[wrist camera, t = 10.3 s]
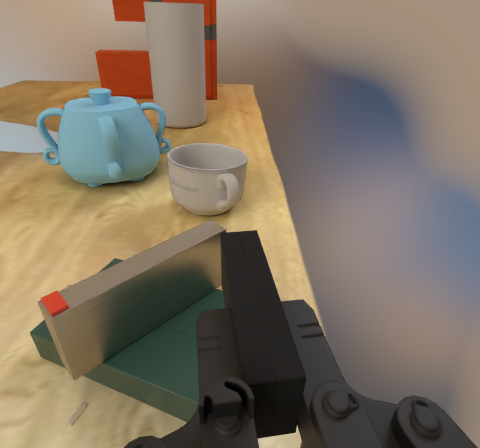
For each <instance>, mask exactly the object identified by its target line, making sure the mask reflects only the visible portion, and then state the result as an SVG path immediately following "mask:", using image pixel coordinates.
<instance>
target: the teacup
mask: <svg viewBox="0 0 480 448" xmlns="http://www.w3.org/2000/svg"><path fill="white" fill-rule="evenodd" d="M167 159H168V166H169V182H170V190H171V193H172V196H173V198H174V199H175V201H176V202H177V203H178V204H179V205H181V206H182V207H184V208H185V209H186V210H188V211H190V212H192V213H194V214H198V215H217V214H221V213H224V212H225V211H227V210H229V209H230V208H232V207H233V206H235V205H236V204H237V203H238V202H239V201H240V199H241V197H242V194H243V191H244V185H245V177H246V166H247V162H248V157H247V155H246V154H245V153H244V152H243V151H241V150H239V149H237V148H234V147H231V146H227V145H221V144H213V143H193V144H185V145H181V146H177V147H175V148H173V149H171V150H170V151H169V152H168V154H167Z"/></svg>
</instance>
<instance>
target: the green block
mask: <svg viewBox="0 0 480 448" xmlns="http://www.w3.org/2000/svg"><path fill="white" fill-rule="evenodd" d="M122 261H123V260H119V259H116V258H115V259H114V260H112V261H111V262H110V263H109V264H108V265H107V266H106V267H104V268H103V269H102V270H101V271H103V270H106V269H108V268H110V267H112V266H114V265H116V264H118V263H120V262H122ZM101 271H100V272H101ZM70 286H72V285H70V284H69V285H68V286H67V288H68V287H70ZM223 308H225V303H224V296H223V291H221V290H218V289H215V290H213V291H212V292H210V293H209V294H207V295H205V296H204V297H202V298H201V299H199V300H198V301H196V302H195V303H193V304H192V305H190V306H189V307H187V308H185V309H184V310H182V311H181V312H179V313H178V314H176V315H175V316H173V317H172V318H170V319H168V320H167V321H165V322H164V323H162V324H161V325H159V326H158V327H156V328H155V329H153V330H152V331H150V332H148V333H147V334H145V335H144V336H142V337H141V338H139V339H138V340H136V341H135V342H133V343H132V344H130V345H128V346H127V347H125V348H124V349H122V350H121V351H119V352H118V353H116V354H115V355H113V356H111V357H110V358H108V359H107V360H105V361H104V362H102V363H101V364H99V365H98V366H96V367H95V368H93V369H91V370H90V371H88V372H87V373H85V374H84V375H83V376H85V377H88V378H90V379H92V380H94V381H97V382H99V383H101V384H103V385H106V386H108V387H110V388H112V389H115V390H117V391H119V392H121V393H124V394H126V395H128V396H130V397H133V398H135V399H137V400H139V401H142V402H144V403H146V404H148V405H151V406H153V407H155V408H157V409H160V410H162V411H164V412H166V413H169V414H171V415H173V416H175V417H178V418H180V419H182V420H184V421H187V422H188V421H189V420H190V419H191V418H192V417H193V415H194V413H195V412H196V410H197V407H198V404H199V379H198V358H197V337H196V322H197V320H198V318H199V315H200V313H201V311H204V310H214V309H223ZM30 334H31V336H32V339H33V341H34V343H35V345H36V347H37V349H38V351H39V354H40V356H41V357H43V358H45V359H47V360H49V361H52V362H54V363H56V364H58V365H61V366H63V367H65V366H64V364H63V363H62V360H61V358H60V356H59V353H58V351H57V348H56V346H55V344H54V341H53V339H52V336H51V334H50V331H49V329H48V327H47V324H46V322H45V320H44V321H42V322H41V323H40V324H39V325H38V326H37V327H36V328H34V329H33V330H32V331H31V332H30ZM65 368H66V367H65ZM88 405H89V404H88V403H86V402H83V403H82V405H81V406H80V407H79V408H78V410H77V411H76V412H75V413H74V415H73V416H72V417H71V418H70V420H69V421H68V422H67V424H69V425H71V426H73V425H74V423H75V422H76V421H77V420H78V418H79V417H80V416H81V414H82V413H83V412H84V411H85V409H86V408H87V407H88Z"/></svg>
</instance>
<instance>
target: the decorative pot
mask: <svg viewBox="0 0 480 448" xmlns="http://www.w3.org/2000/svg"><path fill="white" fill-rule="evenodd" d="M88 93H89V95H90V98H81V99H74V100H71V101H68V102H67V103H66V105H65V107H64V110H63V109H59V108H49V109H46V110H45V111H43V112H42V113H41V114H40V115H39V116H38V118H37V128H38V130H39V132H40V134H41V136H42V137H43V139H44V140H45V141H46V143H47V144H48V145H49V147H50V148H47V149H46V150H45V151H44V152H43V158H44V160H45V162H47V163H48V164H51V165H59V164H61V166H62V168H63V170H64V171H65V172H66V173H67V174H68V175H69V176H70V177H72V178H73V179H74V180H75V181H77V182H81V183H87V185H88V186H90V187H97V186H100V185H103V184H104V183H114V182H122V181H127V180H130V181H140V180H143V179H144V178H145V177H144V176H146V175H148V174H150V173H151V172H153V170H154V169H155V167H156V165H157V163H158V161H159V157H160V154H164V153H167V152H169V151H170V149H171V143H170V141H169V140H168V139H167V138H162V137H163V133H164V130H165V126H166V115H165V112H164V110H163V109H162V108H161V107H160V106H158V105H157V104H154V103H150V102H147V103H142V104H140V105H139V104H138V103H137V102H136V101H135V100H134V99H133V98H130V97H120V96H111V90H109V89H106V88H96V89H91V90H89V91H88ZM147 109H152V110H155V111H157V112H158V113H159V116H160V123H159V128H158V131H157V135H156V136H155V133H154V130H153V128H152V126H151V124H150V122H149V120H148V118H147V117H146V115H145V113H144V112H143V110H147ZM53 115H56V116H62V117H61V121H60V126H59V131H58V145H57V144H56V143H55V141H54V140H53V139H52V137H51V136H50V134H49V133H48V131H47V129H46V127H45V123H44V121H45V119H46V118H47V117H49V116H53ZM161 143H166V146H165V147H163V148H162V147H161ZM49 153H54V154H55V156H56V158H51V157H50V156H49Z"/></svg>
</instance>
